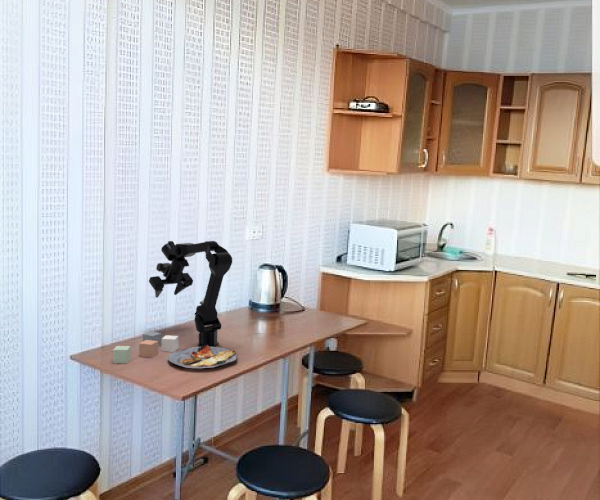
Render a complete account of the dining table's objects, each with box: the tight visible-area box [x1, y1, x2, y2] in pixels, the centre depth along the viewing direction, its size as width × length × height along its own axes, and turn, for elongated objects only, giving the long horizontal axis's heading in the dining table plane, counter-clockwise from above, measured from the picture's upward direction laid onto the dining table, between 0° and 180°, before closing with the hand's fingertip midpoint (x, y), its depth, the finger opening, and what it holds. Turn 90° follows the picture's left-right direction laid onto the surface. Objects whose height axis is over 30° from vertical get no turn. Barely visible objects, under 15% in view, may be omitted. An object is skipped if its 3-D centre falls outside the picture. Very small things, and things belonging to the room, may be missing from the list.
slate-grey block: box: [142, 330, 162, 347], centre depth 244 cm, size 5×5×5 cm
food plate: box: [167, 345, 238, 370], centre depth 227 cm, size 25×23×4 cm
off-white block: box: [161, 334, 179, 353], centre depth 239 cm, size 5×5×5 cm
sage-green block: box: [112, 345, 131, 364], centre depth 224 cm, size 5×5×5 cm
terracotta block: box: [138, 340, 159, 358], centre depth 232 cm, size 5×5×5 cm
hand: (165, 295), depth 267 cm, fingers open, 9 cm apart
